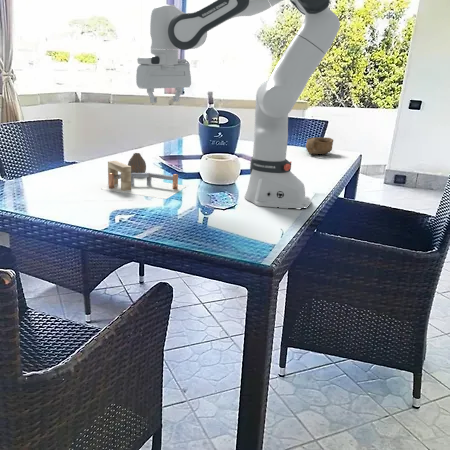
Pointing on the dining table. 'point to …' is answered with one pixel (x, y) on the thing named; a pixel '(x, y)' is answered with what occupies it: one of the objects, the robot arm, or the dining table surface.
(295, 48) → the robot arm
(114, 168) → the wooden arch
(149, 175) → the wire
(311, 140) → the bowl
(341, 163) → the dining table surface
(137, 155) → the vase
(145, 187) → the board
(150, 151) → the dining table surface
